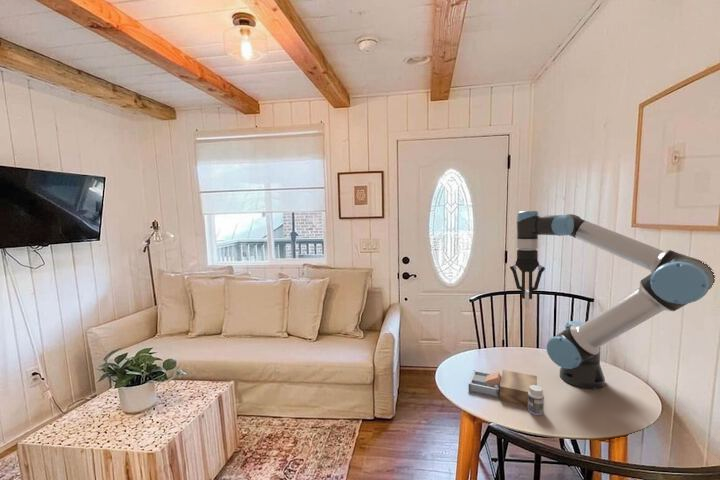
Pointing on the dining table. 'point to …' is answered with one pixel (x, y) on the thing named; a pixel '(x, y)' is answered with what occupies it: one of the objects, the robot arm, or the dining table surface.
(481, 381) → the slate-grey tile
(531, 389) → the pill bottle
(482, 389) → the tray
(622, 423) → the dining table surface
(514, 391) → the brown block
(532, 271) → the robot arm
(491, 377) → the terracotta tile
